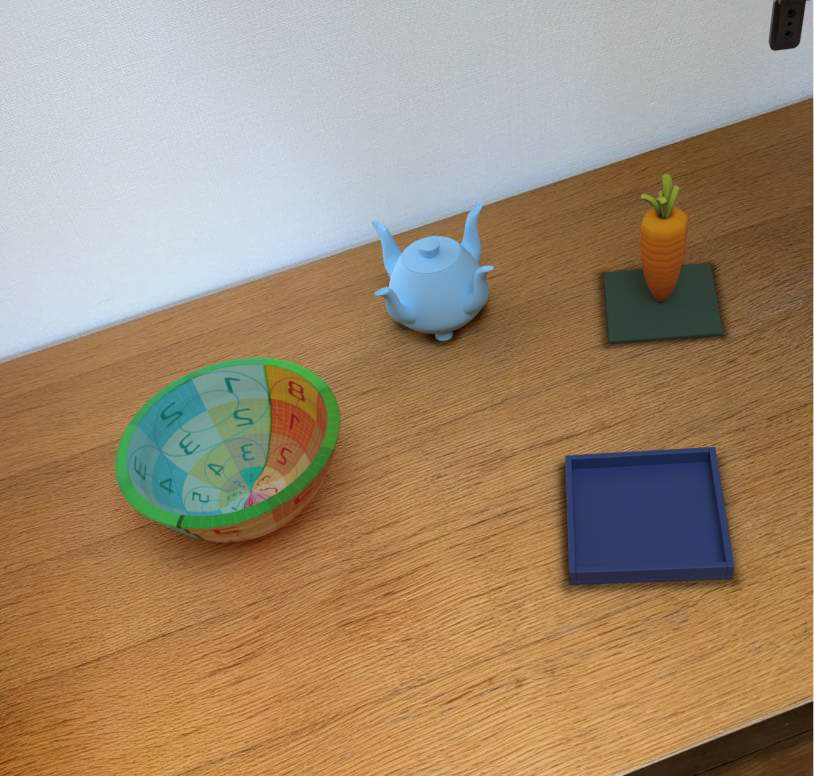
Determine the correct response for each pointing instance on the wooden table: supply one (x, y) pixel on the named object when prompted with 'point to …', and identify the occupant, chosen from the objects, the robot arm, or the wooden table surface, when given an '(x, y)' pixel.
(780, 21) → the robot arm
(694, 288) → the mat
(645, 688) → the wooden table surface
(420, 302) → the teapot
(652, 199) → the carrot
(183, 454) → the bowl
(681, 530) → the tray
